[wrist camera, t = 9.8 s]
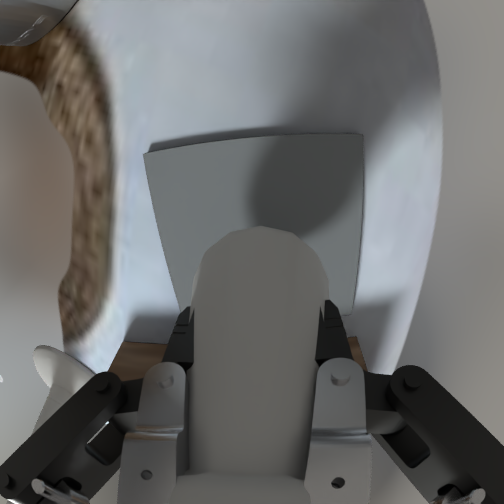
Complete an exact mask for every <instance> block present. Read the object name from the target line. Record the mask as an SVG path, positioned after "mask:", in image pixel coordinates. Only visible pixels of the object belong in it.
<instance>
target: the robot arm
mask: <svg viewBox="0 0 504 504" xmlns="http://www.w3.org/2000/svg"><path fill="white" fill-rule="evenodd" d="M76 1H77V0H0V45H7V46H11V45H13V46H26V45H29V44H32V43H34V42H36V41H37V40H39V39H41V38H42V37H43V36H44V35H46V34H47V33H48V32H49V31H50V30H51V29H52V28H54V27H55V26H56V25H57V24H58V23H59V22H60V20H61V19H62V18H63V17H64V16H65V15H66V14H67V13H68V11H69V10H70V9H71V7H72V6H73V5H74V3H75V2H76ZM190 307H191V306H187V307H186V308H185V309H184V310H183V311H182V312H181V313H180V315H179V317H178V319H177V322H176V326H175V327H174V329H173V334H172V335H171V337H170V340H169V343H168V345H167V348H166V351H165V353H164V356H163V359H162V361H161V363H159V364H156V365H154V366H153V367H151V368H150V369H149V370H148V371H147V372H146V374H145V376H144V378H140V379H134V380H128V381H121V379H120V378H119V377H118V375H116V374H115V373H113V372H101V373H98V374H96V375H95V376H93V377H92V378H91V379H90V380H89V381H88V382H87V383H86V384H84V385H83V386H82V387H81V388H80V389H79V390H78V391H77V392H76V393H75V394H74V395H73V396H72V397H71V398H70V399H69V400H68V401H67V402H65V403H64V404H63V405H62V406H61V407H60V408H59V409H58V410H57V411H56V412H55V413H54V414H53V415H52V416H51V417H50V418H49V419H48V420H47V421H46V422H45V423H44V424H43V425H42V426H41V427H39V428H38V429H37V430H36V431H35V432H34V433H33V434H32V435H31V436H30V437H29V438H28V439H27V440H26V441H25V442H24V443H23V444H22V445H21V446H20V447H19V448H18V449H17V450H16V451H15V452H14V453H13V454H12V455H11V456H10V457H9V458H8V459H7V460H6V461H5V462H4V463H3V464H2V465H1V466H0V494H1V496H3V497H4V498H6V499H7V500H9V501H11V502H13V503H15V504H90V503H89V500H90V499H91V498H92V497H93V496H94V495H95V494H96V493H97V492H98V491H99V490H100V489H101V487H103V486H104V484H105V483H106V482H107V481H108V480H109V479H110V478H111V477H112V476H113V475H114V474H115V473H116V471H117V470H118V469H119V468H120V475H119V485H118V499H117V504H168V502H169V498H170V495H171V492H172V489H173V488H174V487H175V486H176V483H177V478H178V476H183V475H185V471H187V470H189V469H190V462H189V381H188V378H187V370H188V369H190V368H191V367H192V365H193V363H194V310H193V313H192V316H191V319H190V322H189V318H190ZM314 360H315V361H316V363H317V364H318V366H319V370H318V373H317V380H316V389H315V399H314V408H313V417H312V425H311V433H310V440H309V447H308V454H307V461H306V467H305V476H304V487H305V489H306V490H307V492H308V493H309V495H310V499H311V504H369V501H370V487H371V465H372V440H371V436H370V434H368V433H371V434H372V436H373V437H374V438H375V439H376V440H377V442H378V443H379V444H380V445H381V447H382V448H383V449H384V450H385V451H386V452H387V454H388V455H389V456H390V457H391V459H392V460H393V461H394V462H395V464H396V465H397V466H398V467H399V468H400V470H401V471H402V472H403V473H404V474H405V475H406V477H407V478H408V479H409V480H410V481H411V483H412V484H413V485H414V486H415V487H416V489H417V490H418V491H419V492H420V493H421V494H422V496H423V497H424V498H425V499H426V500H427V501H428V503H429V504H504V446H503V445H502V444H501V443H500V442H499V441H498V440H497V439H496V438H495V437H494V436H493V435H492V434H491V433H490V432H489V431H488V430H487V429H486V428H485V427H484V426H483V425H482V424H481V423H480V422H479V421H478V420H477V419H476V418H475V417H474V416H473V415H472V414H471V413H470V412H468V410H467V409H466V408H465V407H463V406H462V405H461V404H460V403H459V402H458V401H457V400H456V399H455V398H454V397H453V396H452V395H451V394H450V393H449V392H448V391H447V390H446V389H445V388H443V386H441V385H440V384H439V383H438V382H437V381H436V380H435V379H434V378H433V377H432V376H431V375H430V374H428V372H426V371H425V370H424V369H422V368H420V367H418V366H414V365H406V366H402V367H400V368H398V369H397V370H396V371H395V372H394V373H393V374H392V375H384V374H375V373H370V372H367V371H365V370H363V369H362V368H361V366H360V365H359V364H358V363H356V362H355V361H354V359H353V356H352V353H351V349H350V346H349V342H348V339H347V336H346V332H345V329H344V327H343V323H342V319H341V316H340V313H339V310H338V307H337V306H336V305H335V304H334V303H333V302H332V301H331V300H325V307H324V319H323V315H322V311H321V307H320V313H319V324H318V335H317V344H316V354H315V359H314ZM107 421H108V422H109V423H108V424H107V426H105V427H104V428H103V430H102V431H101V432H100V433H99V434H98V435H97V436H96V437H95V438H94V439H93V440H92V441H91V442H90V443H88V444H87V442H88V441H89V440H90V439H91V438H92V437H93V436H94V435H95V434H96V433H97V432H98V431H99V430H100V429H101V428H102V426H103V425H105V423H106V422H107ZM331 484H332V485H334V486H336V487H337V488H339V489H335V488H333V487H332V485H331Z"/></svg>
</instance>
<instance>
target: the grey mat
mask: <svg viewBox="0 0 504 504" xmlns="http://www.w3.org/2000/svg"><path fill="white" fill-rule="evenodd" d="M143 157H144V163H145V169H146V174H147V179H148V185H149V190H150V195H151V199H152V204H153V209H154V213H155V218H156V222H157V227H158V231H159V235H160V239H161V243H162V247H163V251H164V255H165V259H166V263H167V266H168V270H169V274H170V277H171V281H172V284H173V288H174V291H175V294H176V298H177V301H178V304H179V308H180V311H181V312H182V311H183V310H184V309H185V308H186V307H187V306H191V297H192V288H193V279H194V276H195V274H196V271H197V269H198V267H199V264H200V262H201V260H202V258H203V255H204V253H205V252H206V251H207V250H208V249H209V248H210V247H211V246H213V245H214V244H215V243H216V242H218V241H219V240H220V239H222V238H223V237H224V236H226V235H227V234H228V233H230V232H232V231H236V230H241V229H247V228H252V227H257V226H265V227H269V228H274V229H279V230H283V231H288V232H292V233H294V234H295V235H296V236H297V237H298V238H300V239H301V240H302V241H303V242H304V243H306V244H307V245H308V246H309V247H310V248H312V249H313V250H314V251H315V252H316V254H317V255H318V256H319V259H320V261H321V263H322V266H323V268H324V270H325V273H326V275H327V278H328V280H329V300H331V301H332V302H333V303H334V304H335V305H336V306H337V307H338V310H339V313H340V316H342V315H351V313H352V307H353V300H354V293H355V285H356V277H357V269H358V259H359V249H360V237H361V222H362V203H363V135H362V134H290V135H272V136H259V137H247V138H237V139H228V140H220V141H212V142H205V143H198V144H192V145H185V146H179V147H174V148H168V149H163V150H158V151H153V152H148V153H145V154H143Z"/></svg>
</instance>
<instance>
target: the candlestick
mask: <svg viewBox="0 0 504 504" xmlns="http://www.w3.org/2000/svg"><path fill="white" fill-rule="evenodd" d="M33 360H34V364H35V367H36V369H37V371H38V373H39V375H40V376H41V378H42V379H43V380H44V381H45V383H46V384H47V385H48V386H49V387H50V388H51V389H50V392H49V396H48V397H47V400H46V402H45V404H44V406H43V409H42V411H41V413H40V416H39V418H38V420H37V423H36V425H35V428H34V430H33V433H34V432H35V431H36V430H37V429H38V428H39V427H41V426H42V425H43V424H44V423H45V422H46V421H47V420H48V419H49V418H50V417H51V416H52V415H53V414H54V413H55V412H56V411H57V410H58V409H59V408H60V407H61V406H62V405H63V404H64V403H65V402H67V401H68V400H69V399H70V398H71V397H72V396H73V395H74V394H75V393H76V392H77V391H78V390H79V389H80V388H81V387H82V386H83V385H84V384H86V383H87V382H88V381H89V380H90V379H91V378H92V377H93V376H95V374H93V373H92V372H91V371H90V370H89V369H88V368H86V367H85V366H84V365H82V364H81V363H80V362H78V361H77V360H75V359H74V358H72V357H71V356H69V355H67V354H65V353H64V352H62V351H60V350H57V349H55V348H52V347H50V346H45V345H41V346H38V347H36V349H35V350H34V352H33ZM33 433H32V434H33ZM7 504H15V503H13V502H11V501H9V500H7Z"/></svg>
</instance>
